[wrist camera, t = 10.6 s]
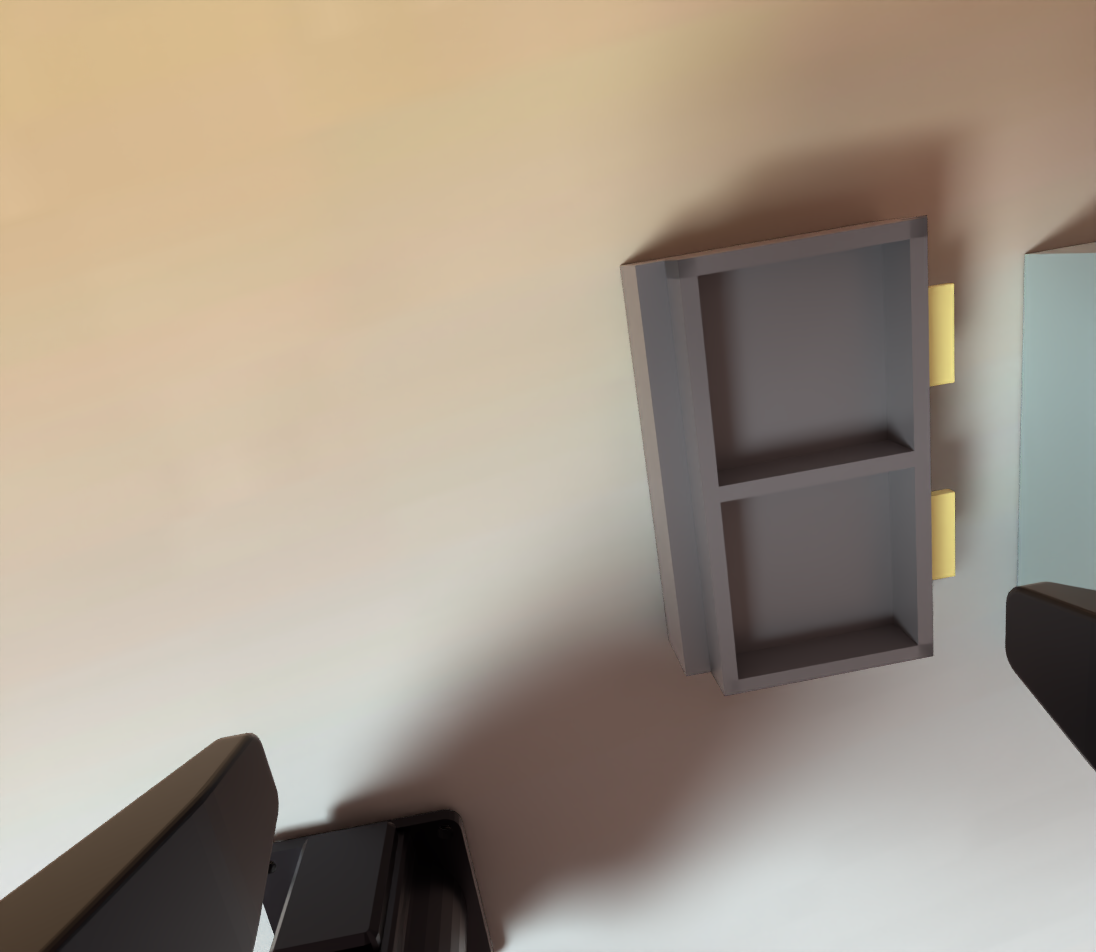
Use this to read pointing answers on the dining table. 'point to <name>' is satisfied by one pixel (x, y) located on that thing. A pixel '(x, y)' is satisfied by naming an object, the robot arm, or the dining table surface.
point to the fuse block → (795, 449)
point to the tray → (1058, 419)
